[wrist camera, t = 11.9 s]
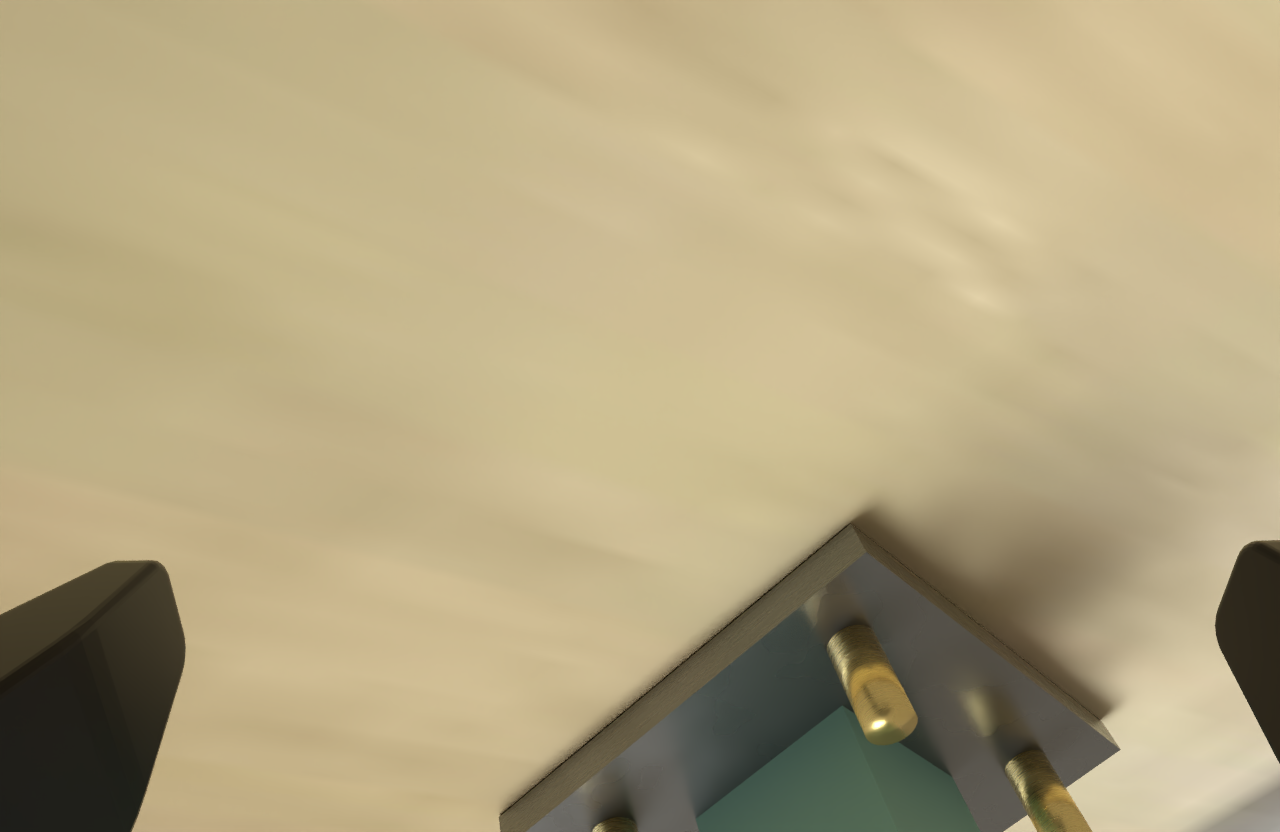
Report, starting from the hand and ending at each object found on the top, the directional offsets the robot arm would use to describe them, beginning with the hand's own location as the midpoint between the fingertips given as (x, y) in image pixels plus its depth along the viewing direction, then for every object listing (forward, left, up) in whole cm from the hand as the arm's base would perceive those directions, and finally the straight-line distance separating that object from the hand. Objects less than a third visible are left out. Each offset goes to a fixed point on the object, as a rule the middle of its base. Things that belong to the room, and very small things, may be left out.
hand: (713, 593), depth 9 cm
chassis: (-3, -19, -12) cm, 23 cm away
